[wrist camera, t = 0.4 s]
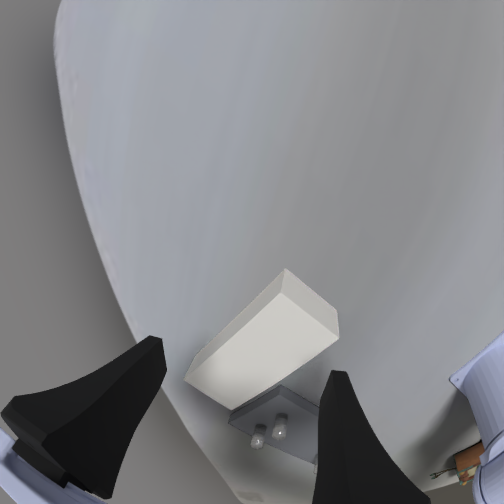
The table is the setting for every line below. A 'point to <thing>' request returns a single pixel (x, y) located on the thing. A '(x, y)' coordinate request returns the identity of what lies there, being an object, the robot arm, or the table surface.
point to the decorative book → (466, 463)
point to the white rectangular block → (264, 342)
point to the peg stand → (281, 423)
